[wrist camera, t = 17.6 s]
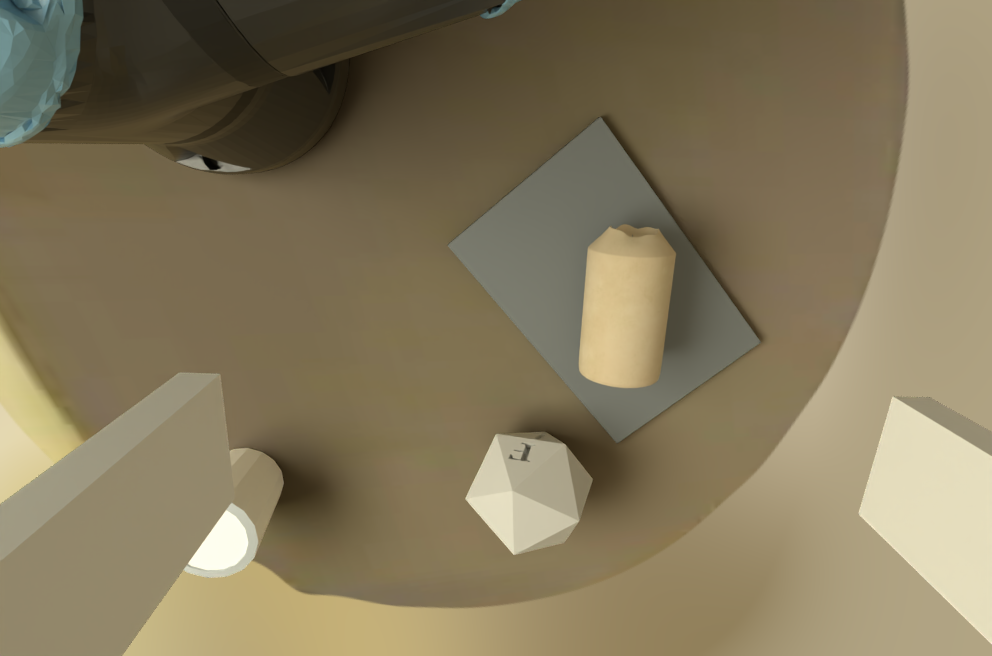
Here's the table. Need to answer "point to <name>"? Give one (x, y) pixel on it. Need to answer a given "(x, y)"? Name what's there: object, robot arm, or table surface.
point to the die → (530, 490)
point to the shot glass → (241, 516)
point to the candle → (626, 307)
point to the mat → (562, 270)
